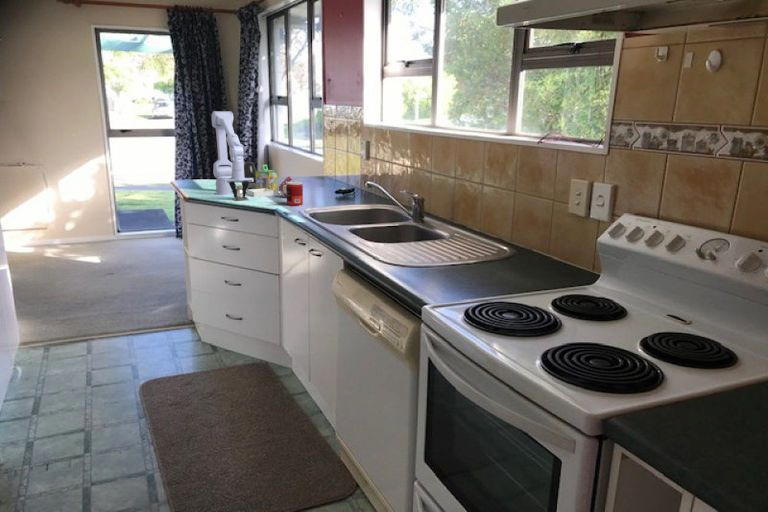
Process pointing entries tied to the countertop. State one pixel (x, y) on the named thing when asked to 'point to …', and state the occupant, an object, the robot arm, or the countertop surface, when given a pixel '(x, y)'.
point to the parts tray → (260, 192)
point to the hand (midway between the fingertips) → (239, 196)
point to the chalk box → (266, 179)
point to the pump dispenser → (250, 173)
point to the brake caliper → (284, 188)
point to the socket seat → (239, 199)
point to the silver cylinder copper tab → (239, 193)
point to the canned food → (294, 193)
